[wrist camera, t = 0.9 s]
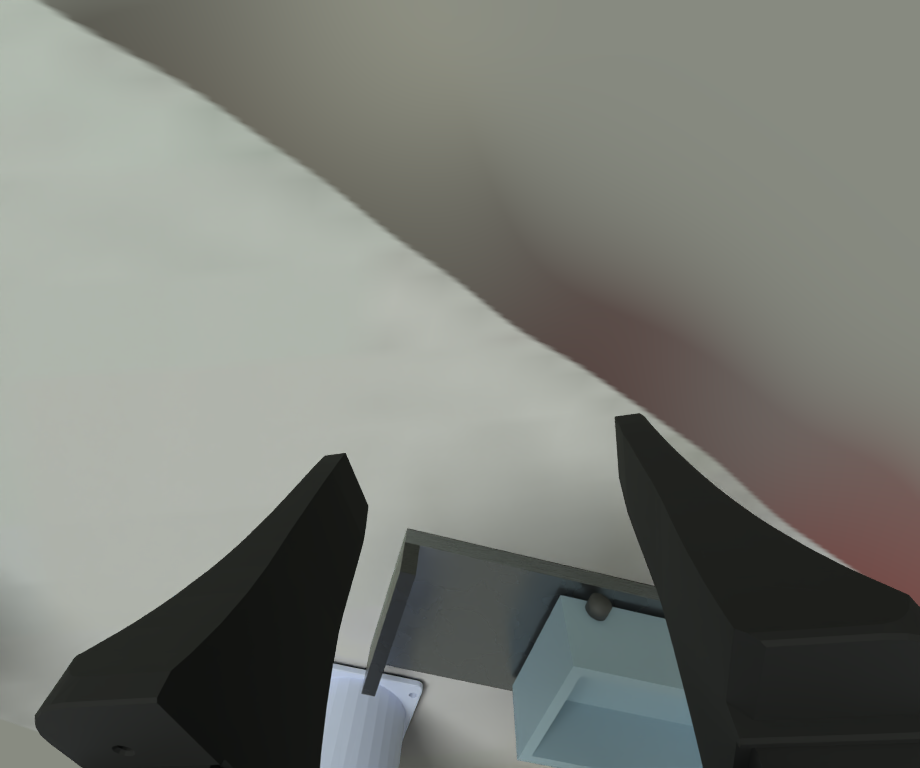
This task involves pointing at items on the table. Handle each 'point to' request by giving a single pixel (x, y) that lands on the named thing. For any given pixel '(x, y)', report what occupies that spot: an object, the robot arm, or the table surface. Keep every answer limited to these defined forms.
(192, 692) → the robot arm
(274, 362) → the table surface
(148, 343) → the table surface
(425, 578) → the rail
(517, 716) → the cart
